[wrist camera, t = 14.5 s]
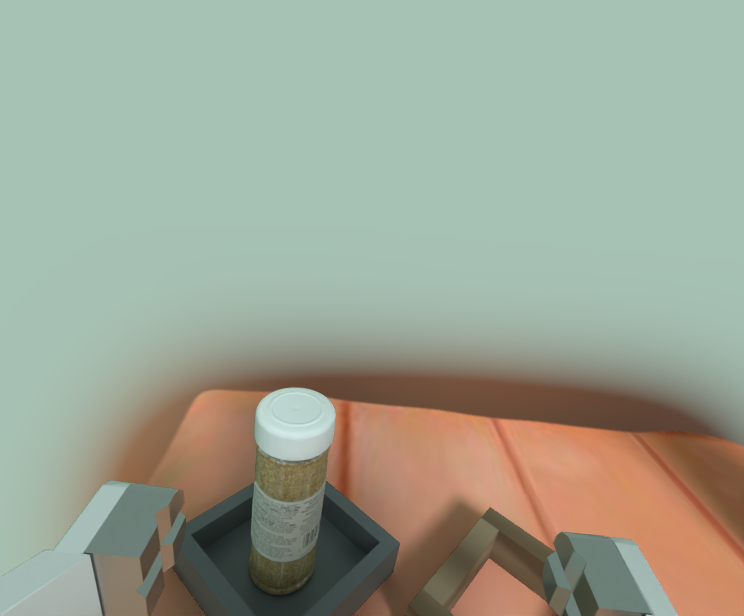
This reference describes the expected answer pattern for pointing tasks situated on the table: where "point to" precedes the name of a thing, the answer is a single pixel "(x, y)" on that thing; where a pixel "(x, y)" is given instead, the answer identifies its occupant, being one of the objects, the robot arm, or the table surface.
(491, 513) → the socket block
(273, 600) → the tray
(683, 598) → the table surface
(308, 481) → the sprinkles bottle
